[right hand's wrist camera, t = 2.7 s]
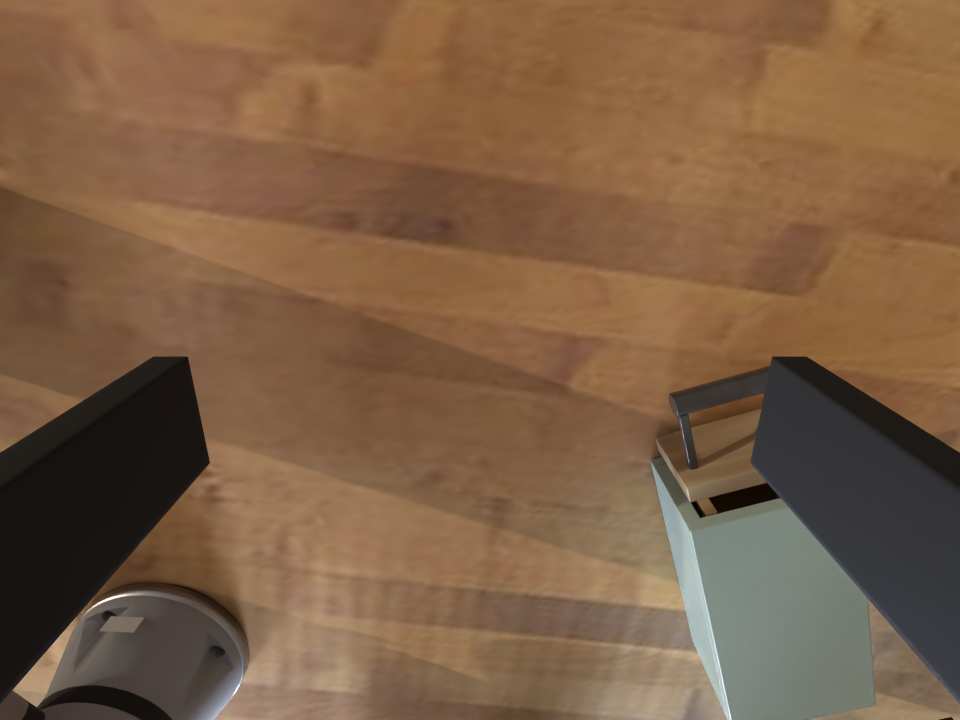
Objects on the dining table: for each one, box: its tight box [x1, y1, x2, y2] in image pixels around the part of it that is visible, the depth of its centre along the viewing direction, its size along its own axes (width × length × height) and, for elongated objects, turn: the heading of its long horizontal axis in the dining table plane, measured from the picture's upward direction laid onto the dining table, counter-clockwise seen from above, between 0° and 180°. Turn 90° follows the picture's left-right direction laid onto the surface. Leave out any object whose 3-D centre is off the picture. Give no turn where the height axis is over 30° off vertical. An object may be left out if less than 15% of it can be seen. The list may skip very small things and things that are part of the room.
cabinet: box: [651, 457, 876, 720], centre depth 42 cm, size 20×11×9 cm, turn 18°
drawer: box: [656, 366, 780, 518], centre depth 40 cm, size 25×10×7 cm, turn 18°
